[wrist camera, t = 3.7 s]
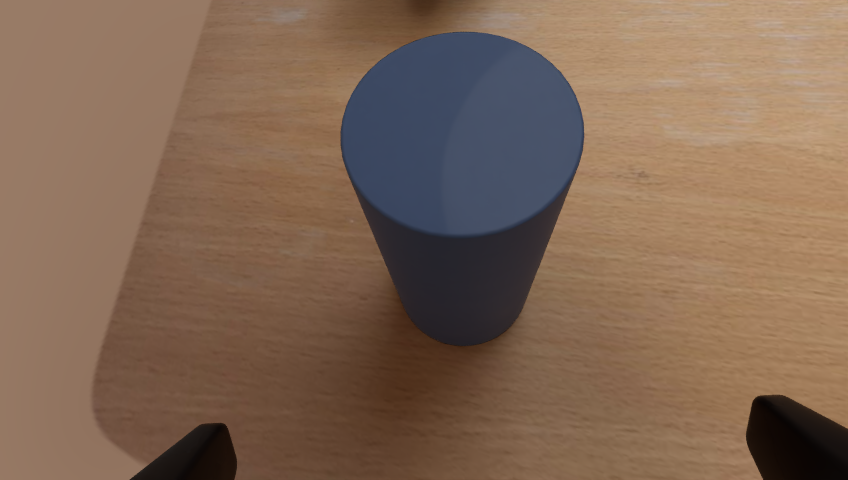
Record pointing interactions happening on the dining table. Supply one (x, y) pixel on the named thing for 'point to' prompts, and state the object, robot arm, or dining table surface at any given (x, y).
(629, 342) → the dining table surface
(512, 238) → the blue cylinder
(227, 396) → the dining table surface
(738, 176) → the dining table surface
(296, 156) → the dining table surface
